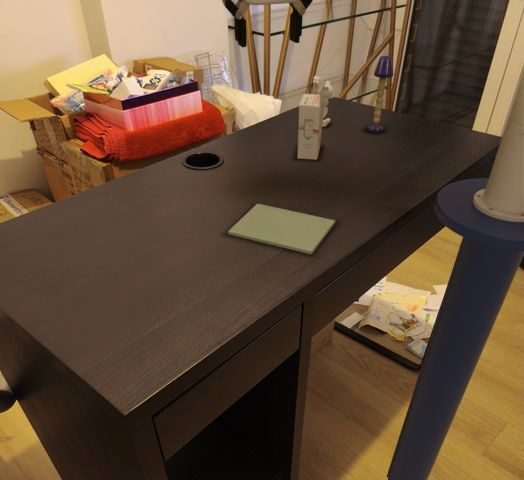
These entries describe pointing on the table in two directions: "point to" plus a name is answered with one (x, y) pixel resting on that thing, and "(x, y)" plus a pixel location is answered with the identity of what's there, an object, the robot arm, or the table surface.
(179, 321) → the table surface
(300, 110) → the ink cartridge box
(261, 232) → the mat
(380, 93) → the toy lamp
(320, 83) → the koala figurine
